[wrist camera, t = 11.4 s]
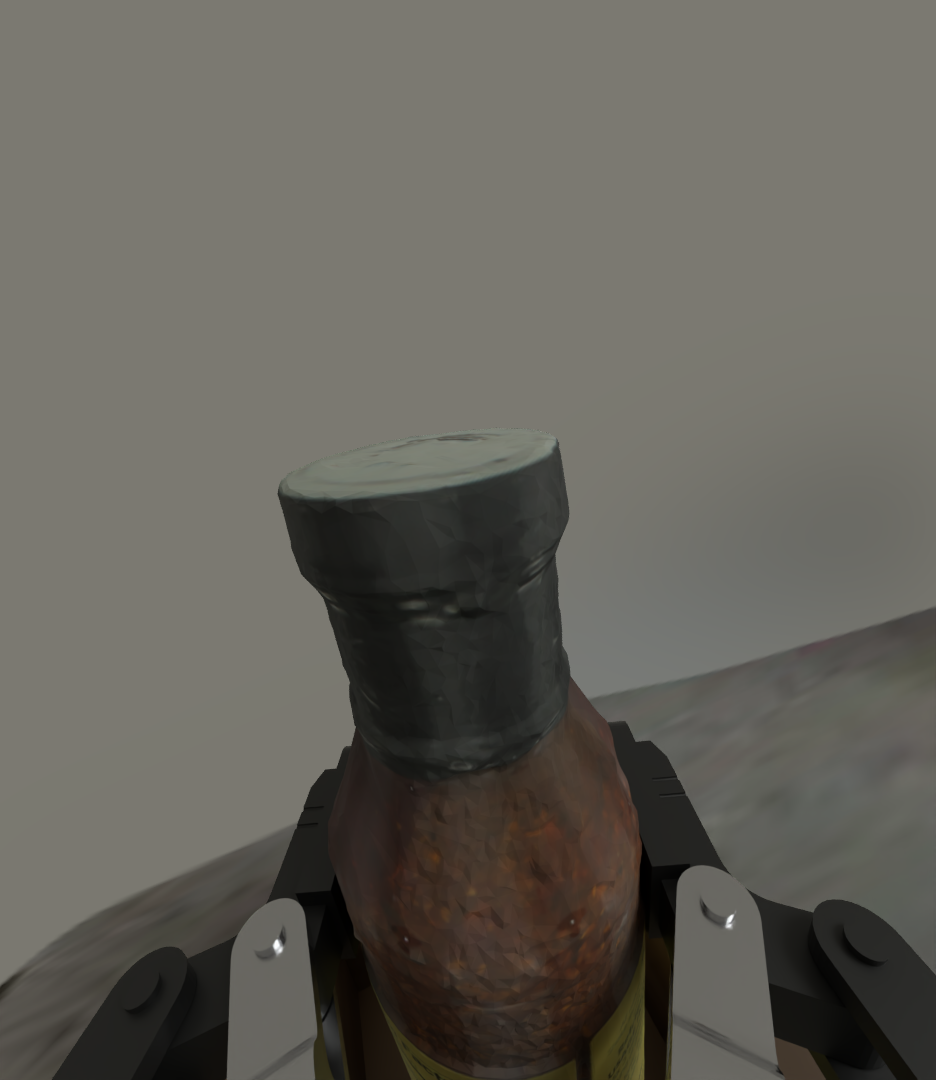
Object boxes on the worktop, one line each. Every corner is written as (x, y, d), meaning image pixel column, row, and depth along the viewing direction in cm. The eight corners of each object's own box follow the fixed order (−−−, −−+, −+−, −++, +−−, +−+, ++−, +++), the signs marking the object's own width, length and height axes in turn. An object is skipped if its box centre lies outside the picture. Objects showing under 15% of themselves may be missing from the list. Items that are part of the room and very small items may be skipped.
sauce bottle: (567, 926, 17) (543, 407, 10) (693, 1183, 12) (834, 422, 5) (406, 1012, 15) (241, 451, 8) (463, 1367, 10) (107, 567, 3)
